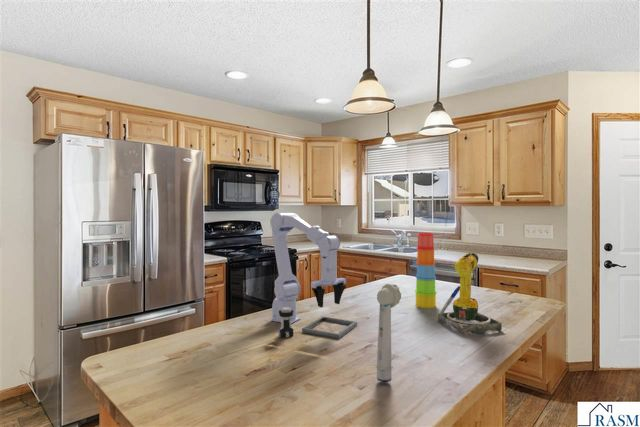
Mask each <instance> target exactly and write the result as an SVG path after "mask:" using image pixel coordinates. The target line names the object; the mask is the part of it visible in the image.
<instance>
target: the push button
mask: <svg viewBox="0 0 640 427" xmlns="http://www.w3.org/2000/svg"><path fill="white" fill-rule="evenodd" d="M293 312H294V311H293V310H291V308H290V307H283V308H281V310H279V315H280V317H281V322H280V329H278V332H276V333H275V337H276V338H277V337H279V338H281V339H283V338H288V337H293V336H294V328H293V327H292V323H291V316H293ZM288 318H289V319H288Z"/></svg>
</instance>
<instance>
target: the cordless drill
mask: <svg viewBox="0 0 640 427" xmlns="http://www.w3.org/2000/svg"><path fill="white" fill-rule="evenodd" d="M478 263H479V256H478V254H476V253H474V252H473V253H471V252H468V253H466V254H465V255H463V256H462V257H460V258H459V259H458V260H457V261H456V262H455V264H454V271H455V272H456V273H457V275H458V276H459V277H460V279H459V285H457V287H456V288H455V289H454V291H453V292H452V293H451V295H450V297H449V298H447V301H446V302H445V304H444V305H443V307H442V308H441V310H440V312H439V313H437V322H439V323H441V324H445V325H449V326H451V328H454V329H455V330H457V331H458V332H460V333H463V334H465V333H471V334H478V335H480V334H485V333H487V332H489V331H493V332H502V329H503V328H502V327H503V326H502V325H503V323H501V322H500V321H499V320H496V319H494V318H491V317H490V316H487V315H485V314H482V313H479V302H478V300H477V299H476V298H472V295H471V294H472V282H473V279H472V274H473V272H474V269H475V268H476V267H477V265H478ZM458 293H459V297H458V298H457V299H455V297H456V296H457V294H458ZM454 299H455V300H454ZM452 301H453V303H452ZM451 303H452V308H453V309H452V312H450V311H449V312H446V310H447V308H448V307H449V305H450V304H451ZM475 319H477V320H479V322H477V321H476V322H475V321H474V320H475Z"/></svg>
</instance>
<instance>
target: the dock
mask: <svg viewBox="0 0 640 427" xmlns="http://www.w3.org/2000/svg"><path fill="white" fill-rule="evenodd" d="M323 322H330V323H336V324H343V325H347V326H346V327H345V328H343V329H342V330H340V331H339V332H338V333H337V332H330V331H324V330H319V329H314V328H316V326H318V325H320V324H321V323H323ZM356 326H358V321H356V320H350V319H349V320H348V319H344V318H343V319H342V318H335V317H329V316H321V317H319V318H317V319H316V320H314V321H312V322H311V323H309V324H307V325H306V326H304V327H302V328H301V332H302V334H303V333H304V334H309V335H313V336H314V335H315V336H320V337H325V338H330V339H336V340H340V339H342V337H344V336H345V335H346V334H348V333H349V332H351V331H352V330H353V329H354V328H356Z"/></svg>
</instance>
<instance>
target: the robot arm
mask: <svg viewBox="0 0 640 427" xmlns="http://www.w3.org/2000/svg"><path fill="white" fill-rule="evenodd" d="M270 227H271V231H272V232H271V234H272V235H271V236H272V241H273V242H272V243H273V248H274V254H275V260H276V266H277V272H278V276H277V278H276V279H275V280H274V290H273V291H274V295H275V298H274V299H273V302H272V304H271V306H272V307H271V308H272V309H271V311H272V313H271V314H272V316H271V321H272V322H276V323H277V322H278V323H281V317H280V315H279V310H281V308H283V307H290V308H291V310H293V311H294V312H293V316H291V324H293V323H295V322H297V321H299V320H301V317H300V316H299V317H298V316H297V298H298V295H299V294H300V293H301V285H300V283H299V281H298V278H297V276H296V275H294V273H293V271H292V266H291V261H290V253H289V248H288V242H287V235H288V233H289V234H290V232H292V230H293V229H294V228H295V229H298V230H299V231H300V232H302V233H304V234H306V238H307V239H308V240H309V241H311V242H312V243H314V244H315V245H317V247H318V250H319V254H320V259H321V260H320V261H321V263H320V266H321V267H320V272H321V273H320V274H321V275H320V277H321V278H320V279H319V280H314V281H311V282H310V287H311V290H312V292H313V294H314V296H315V299H316V303H317V307H318V308H323V307H324V296H325V292H326V288H323V287H327V286H328V287H329V286H332V289H333V293H334V294H333V296H334V298H333V299H334V300H333V301H334V304H336V305H340V302H341V298H342V296H343V293H344V291H345V289H346V288H347V286H346V284H347V278H345V277H339V278H338V276H337V274H338V273H337V270H338V268H337V266H338V265H337V264H338V262H337V261H338V260H337V258H338V250H339V248H340V246H341V242H340V239H339V237H338V236H337V235H336V234H332V235H330V234H329V232H328V231H324V230H323V229H321V227H320V226H319V225H312V226H311V224H309V223H307V222H306V221H305V220H303V219H302V218H301V217H300V216H299V214H296V213H295V212H275V213H273V215H272V216H271V218H270ZM288 319H289V318H288Z"/></svg>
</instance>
